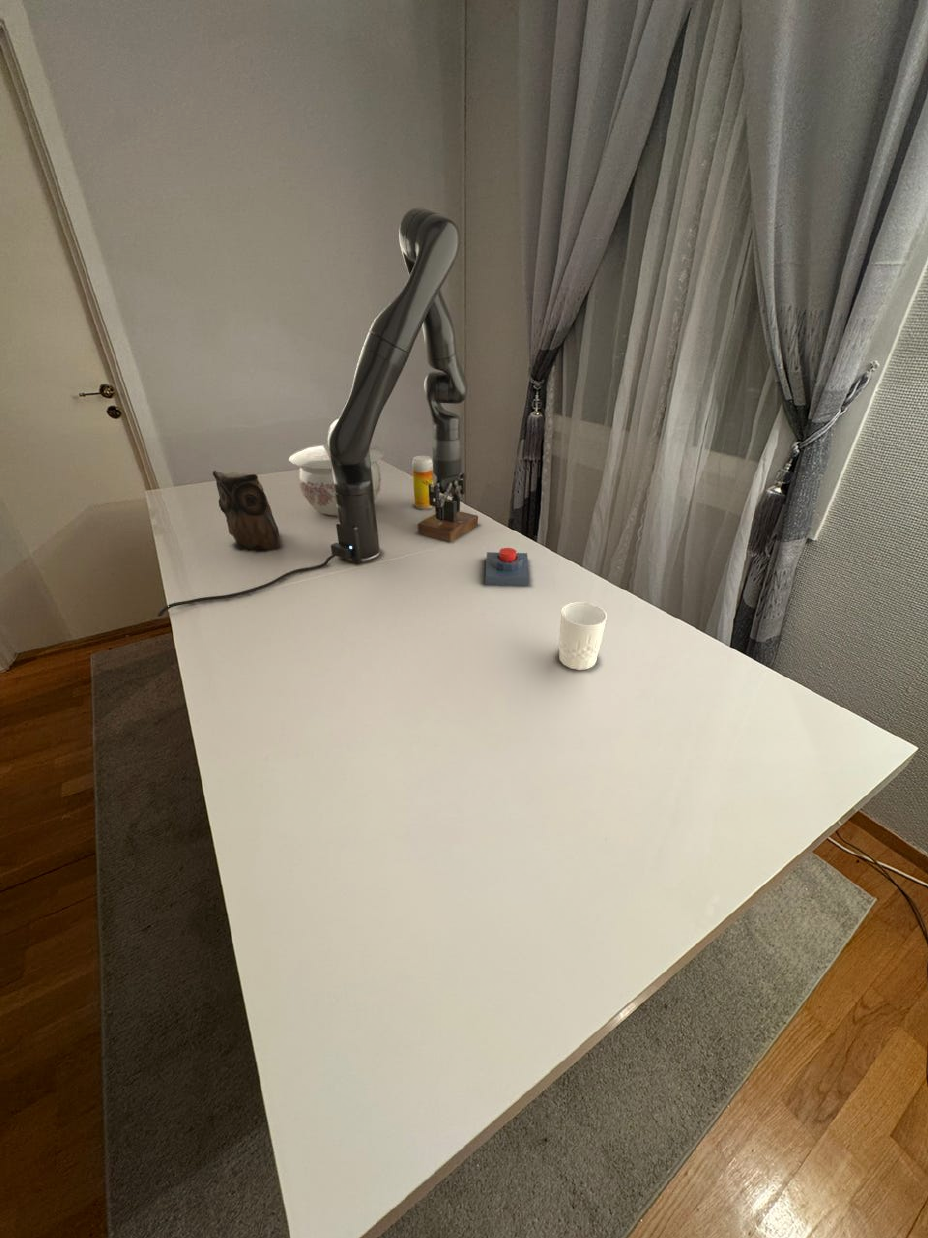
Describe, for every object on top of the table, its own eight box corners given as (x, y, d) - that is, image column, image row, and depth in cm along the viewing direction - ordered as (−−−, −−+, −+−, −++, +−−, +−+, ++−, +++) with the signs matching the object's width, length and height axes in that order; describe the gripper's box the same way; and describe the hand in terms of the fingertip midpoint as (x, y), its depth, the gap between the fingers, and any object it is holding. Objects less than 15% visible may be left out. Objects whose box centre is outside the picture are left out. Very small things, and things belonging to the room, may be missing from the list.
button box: (528, 586, 119) (529, 570, 117) (485, 584, 120) (485, 569, 118) (526, 561, 130) (527, 546, 128) (486, 560, 131) (487, 545, 129)
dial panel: (450, 542, 140) (450, 531, 138) (418, 533, 145) (417, 522, 143) (477, 525, 150) (478, 515, 148) (446, 517, 155) (446, 507, 153)
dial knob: (457, 520, 145) (457, 500, 142) (454, 521, 144) (453, 502, 141) (442, 516, 147) (442, 496, 144) (439, 518, 146) (438, 498, 143)
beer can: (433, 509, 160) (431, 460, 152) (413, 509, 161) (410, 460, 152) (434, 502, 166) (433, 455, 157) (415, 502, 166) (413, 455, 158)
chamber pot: (381, 525, 150) (374, 452, 139) (287, 525, 150) (272, 452, 139) (393, 493, 173) (388, 428, 162) (312, 492, 174) (301, 428, 163)
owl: (283, 549, 136) (267, 474, 125) (232, 558, 132) (210, 481, 121) (276, 532, 146) (261, 460, 135) (229, 540, 142) (209, 466, 131)
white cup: (601, 651, 98) (609, 606, 92) (596, 676, 92) (604, 629, 86) (559, 643, 100) (565, 598, 95) (552, 667, 94) (557, 621, 88)
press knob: (516, 563, 121) (516, 555, 120) (499, 562, 121) (499, 554, 120) (515, 555, 125) (516, 547, 124) (499, 555, 125) (499, 547, 124)
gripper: (442, 464, 129) (444, 526, 138) (473, 451, 139) (473, 510, 148) (418, 459, 133) (421, 520, 142) (451, 447, 143) (452, 504, 152)
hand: (448, 514), depth 145 cm, fingers open, 7 cm apart
